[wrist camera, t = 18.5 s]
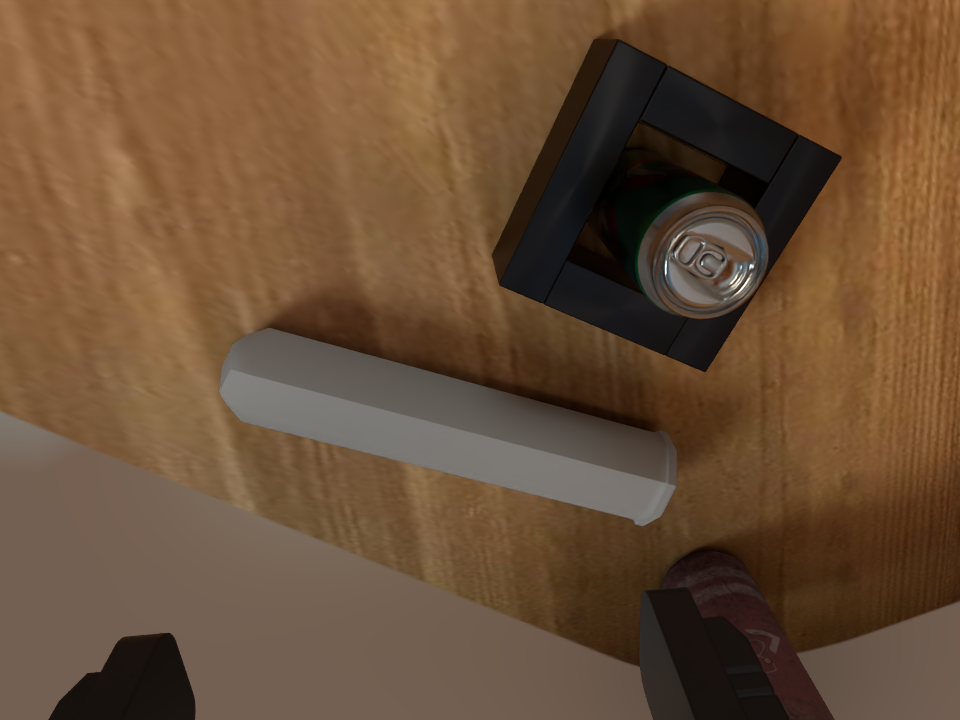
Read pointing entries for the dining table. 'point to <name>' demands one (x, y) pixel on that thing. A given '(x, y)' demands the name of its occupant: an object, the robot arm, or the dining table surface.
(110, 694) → the robot arm
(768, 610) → the can
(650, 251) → the soda can
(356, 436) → the tube
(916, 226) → the dining table surface
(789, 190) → the holder
